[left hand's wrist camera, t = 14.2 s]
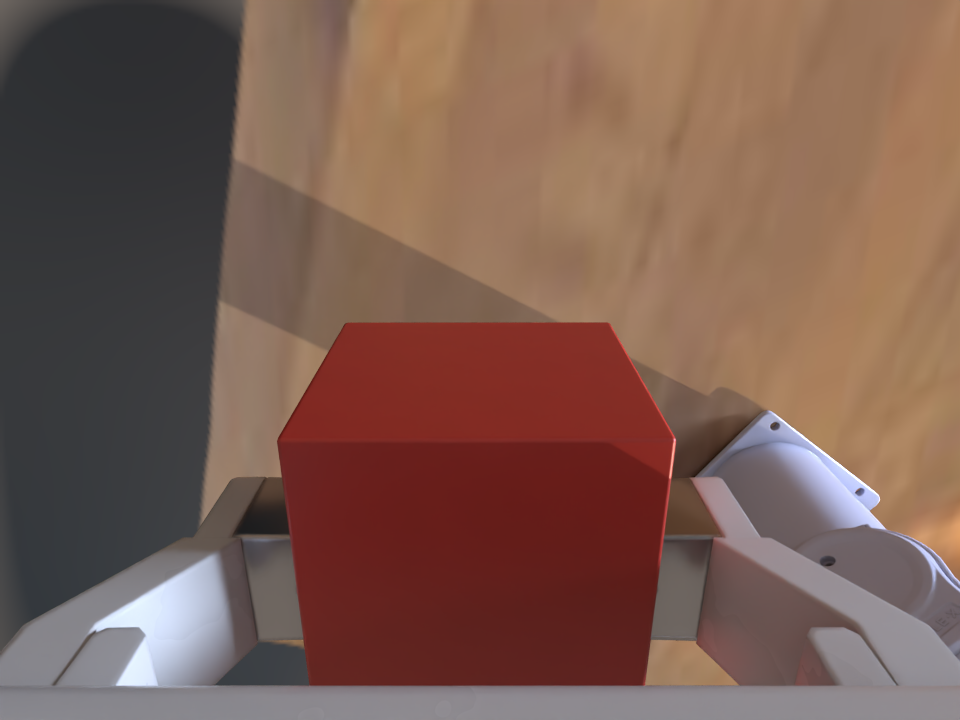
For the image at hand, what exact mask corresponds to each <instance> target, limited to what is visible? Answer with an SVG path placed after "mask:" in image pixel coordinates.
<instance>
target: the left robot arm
mask: <svg viewBox="0 0 960 720" xmlns="http://www.w3.org/2000/svg"><path fill="white" fill-rule="evenodd" d="M302 639H303V632H302V624H301V617H300V609H299V602H298V594H297V587H296V579H295V572H294V564H293V557H292V549H291V542H290V534H289V526H288V519H287V511H286V504H285V496H284V489H283V481H282V478H280V477H268V478H266V477H237V478H234V479H232V480H231V481H230V482H229V484H228V485H227V487H226V488H225V490H224V491H223V493H222V494H221V496H220V497H219V499H218V500H217V502H216V503H215V505H214V506H213V508H212V509H211V511H210V512H209V514H208V516H207V517H206V519H205V520H204V522H203V523H202V525H201V526H200V528H199V529H198V531H197V532H196V534H195V535H194V537H193V538H182V539H180V540H178V541H176V542H174V543H173V544H171V545H169V546H167V547H165V548H163V549H162V550H160V551H158V552H156V553H154V554H152V555H151V556H149V557H147V558H145V559H143V560H141V561H140V562H138V563H136V564H134V565H132V566H130V567H129V568H127V569H125V570H123V571H121V572H120V573H118V574H116V575H114V576H112V577H110V578H108V579H107V580H105V581H103V582H101V583H99V584H98V585H96V586H94V587H92V588H90V589H88V590H86V591H85V592H83V593H81V594H79V595H77V596H76V597H74V598H72V599H70V600H68V601H66V602H65V603H63V604H61V605H59V606H57V607H55V608H54V609H52V610H50V611H48V612H46V613H44V614H43V615H41V616H39V617H37V618H35V619H33V620H32V621H30V622H28V623H26V624H24V625H23V626H22V627H21V629H20V630H19V631H18V632H17V633H16V634H15V636H14V637H13V638H12V639H11V640H10V641H9V642H8V644H7V645H6V646H5V647H4V648H3V649H2V650H1V652H0V720H960V661H959V660H958V659H957V658H956V656H955V655H954V654H953V653H952V652H951V650H950V649H949V648H948V647H947V646H946V645H945V643H944V642H943V641H942V640H941V639H940V637H939V636H938V635H937V634H936V633H935V632H934V630H933V629H932V628H931V627H930V626H929V625H927V624H926V623H924V622H922V621H920V620H918V619H917V618H915V617H913V616H911V615H909V614H907V613H906V612H904V611H902V610H900V609H898V608H897V607H895V606H893V605H891V604H889V603H888V602H886V601H884V600H882V599H880V598H879V597H877V596H875V595H873V594H871V593H870V592H868V591H866V590H864V589H862V588H860V587H859V586H857V585H855V584H853V583H851V582H850V581H848V580H846V579H844V578H842V577H841V576H839V575H837V574H835V573H833V572H832V571H830V570H828V569H826V568H824V567H823V566H821V565H819V564H817V563H815V562H813V561H812V560H810V559H808V558H806V557H804V556H803V555H801V554H799V553H797V552H795V551H794V550H792V549H790V548H788V547H786V546H785V545H783V544H781V543H779V542H777V541H775V540H774V539H772V538H761V537H760V536H759V534H758V533H757V531H756V530H755V528H754V527H753V525H752V524H751V522H750V521H749V519H748V517H747V516H746V514H745V513H744V511H743V510H742V508H741V507H740V505H739V504H738V502H737V501H736V499H735V498H734V496H733V494H732V493H731V491H730V490H729V488H728V487H727V485H726V484H725V482H724V481H723V479H721V478H719V477H694V478H671V485H670V492H669V500H668V508H667V516H666V524H665V532H664V539H663V547H662V555H661V563H660V571H659V578H658V586H657V594H656V602H655V610H654V617H653V625H652V633H651V640H687V641H697V642H696V644H697V645H699V646H700V647H701V648H702V649H703V650H704V651H705V652H706V653H707V654H708V655H709V656H710V657H711V658H712V659H713V660H714V661H715V662H716V663H717V664H718V665H719V666H720V667H721V668H722V669H724V670H725V671H726V672H727V673H728V674H729V675H730V676H731V677H732V678H733V679H734V680H735V681H736V682H737V683H738V684H739V685H740V686H214V685H215V684H216V683H217V682H218V681H219V680H220V679H221V678H222V677H223V676H224V675H225V674H226V673H227V672H228V671H230V670H231V669H232V668H233V667H234V666H235V665H236V664H237V663H238V662H239V661H240V660H241V659H242V658H243V657H244V656H245V655H246V654H247V653H249V652H250V651H251V650H252V649H253V648H254V647H255V646H256V645H257V641H267V640H302Z"/></svg>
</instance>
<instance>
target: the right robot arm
mask: <svg viewBox="0 0 960 720" xmlns="http://www.w3.org/2000/svg"><path fill="white" fill-rule="evenodd" d="M773 422H777V424H776V425H775V426H774V427H770V425H771V424H772V423H773ZM696 477H719V478H721V479H723V481H724V482H725V484H726V485H727V487H728V488H729V490H730V491H731V493H732V494H733V496H734V498H735V499H736V501H737V502H738V504H739V505H740V507H741V508H742V510H743V511H744V513H745V514H746V516H747V517H748V519H749V521H750V522H751V524H752V525H753V527H754V528H755V530H756V531H757V533H758V534H759V536H760V537H761V538H772V539H774V540H775V541H777V542H779V543H781V544H783V545H785V546H786V547H788V548H790V549H792V550H794V551H795V552H797V553H799V554H801V555H803V556H804V557H806V558H808V559H810V560H812V561H813V562H815V563H817V564H819V565H821V566H823V567H824V568H826V569H828V570H830V571H832V572H833V573H835V574H837V575H839V576H841V577H842V578H844V579H846V580H848V581H850V582H851V583H853V584H855V585H857V586H859V587H860V588H862V589H864V590H866V591H868V592H870V593H871V594H873V595H875V596H877V597H879V598H880V599H882V600H884V601H886V602H888V603H889V604H891V605H893V606H895V607H897V608H898V609H900V610H902V611H904V612H906V613H907V614H909V615H911V616H913V617H915V618H917V619H918V620H920V621H922V622H924V623H926V624H927V625H929V626H930V627H931V628H932V629H933V630H934V632H935V633H936V634H937V635H938V636H939V637H940V639H941V640H942V641H943V642H944V643H945V645H946V646H947V647H948V648H949V649H950V650H951V652H952V653H953V654H954V655H955V656H956V658H957V659H958V660H959V661H960V582H959V581H958V580H957V579H956V578H955V577H954V576H953V574H952V573H951V571H950V570H949V569H948V567H947V566H946V564H945V563H944V562H943V560H942V559H941V558H940V557H939V556H938V555H937V554H936V553H935V552H934V551H933V550H931V549H930V548H928V547H927V546H926V545H924V544H923V543H921V542H919V541H917V540H915V539H913V538H911V537H909V536H906V535H903V534H900V533H897V532H893V531H889V530H886V529H885V528H884V527H883V526H882V524H881V523H880V522H879V521H878V520H877V519H876V518H875V517H874V516H873V515H872V514H871V513H870V512H869V511H870V510H871V509H872V508H873V507H875V506H876V505H877V504H878V503H879V500H880V498H879V495H878V494H877V493H876V492H875V491H873V490H872V489H871V488H870V487H868V486H867V485H866V484H864V483H863V482H862V481H861V480H859V479H858V478H857V477H855V476H854V475H853V474H852V473H850V472H849V471H848V470H846V469H845V468H844V467H843V466H841V465H840V464H839V463H837V462H836V461H835V460H834V459H832V458H831V457H830V456H828V455H827V454H826V453H825V452H823V451H822V450H821V449H819V448H818V447H817V446H816V445H814V444H813V443H812V442H810V441H809V440H808V439H807V438H805V437H804V436H803V435H801V434H800V433H799V432H798V431H796V430H795V429H794V428H792V427H791V426H790V425H789V424H787V423H786V422H785V421H783V420H782V419H781V418H780V417H778V416H777V415H776V414H774V413H773V412H771V411H763V412H761V413H760V414H759V415H758V416H757V417H756V418H755V419H754V420H753V421H752V422H751V423H750V424H749V425H748V426H747V427H746V428H744V429H743V430H742V431H741V432H740V433H739V434H738V435H737V436H736V437H735V438H734V439H733V440H732V441H731V442H730V443H729V444H728V445H727V446H726V447H725V448H724V449H723V450H722V451H721V452H720V453H719V454H718V455H717V456H716V457H715V458H714V459H713V460H712V461H711V462H710V463H709V464H708V465H707V466H706V467H705V468H704V469H703V470H702V471H701V472H700V473H699V474H698V475H697V476H696ZM858 488H861V489H860V490H859V491H857V492H855V491H856V490H857V489H858Z"/></svg>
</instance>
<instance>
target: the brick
mask: <svg viewBox="0 0 960 720" xmlns="http://www.w3.org/2000/svg"><path fill="white" fill-rule="evenodd" d="M277 444H278V451H279V459H280V466H281V474H282V481H283V489H284V496H285V504H286V511H287V519H288V526H289V534H290V542H291V549H292V557H293V564H294V572H295V579H296V587H297V594H298V602H299V609H300V617H301V624H302V632H303V639H304V647H305V654H306V662H307V670H308V677H309V685H310V686H645V680H646V672H647V664H648V656H649V649H650V641H651V633H652V625H653V617H654V610H655V602H656V594H657V586H658V578H659V571H660V563H661V555H662V547H663V539H664V532H665V524H666V516H667V508H668V500H669V492H670V485H671V477H672V469H673V461H674V453H675V446H676V439H675V437H674V435H673V433H672V431H671V430H670V428H669V426H668V424H667V423H666V421H665V419H664V417H663V416H662V414H661V412H660V410H659V409H658V407H657V405H656V403H655V402H654V400H653V398H652V396H651V395H650V393H649V391H648V389H647V388H646V386H645V384H644V382H643V381H642V379H641V377H640V375H639V374H638V372H637V370H636V368H635V367H634V365H633V363H632V361H631V360H630V358H629V356H628V355H627V353H626V351H625V349H624V348H623V346H622V344H621V342H620V341H619V339H618V337H617V335H616V334H615V332H614V330H613V328H612V327H611V325H610V323H346V324H345V325H344V326H343V328H342V330H341V332H340V333H339V335H338V337H337V338H336V340H335V342H334V343H333V345H332V347H331V349H330V350H329V352H328V354H327V355H326V357H325V359H324V361H323V362H322V364H321V366H320V367H319V369H318V371H317V373H316V374H315V376H314V378H313V379H312V381H311V383H310V384H309V386H308V388H307V390H306V391H305V393H304V395H303V396H302V398H301V400H300V402H299V403H298V405H297V407H296V408H295V410H294V412H293V414H292V415H291V417H290V419H289V420H288V422H287V424H286V425H285V427H284V429H283V431H282V432H281V434H280V436H279V437H278V440H277Z"/></svg>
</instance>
